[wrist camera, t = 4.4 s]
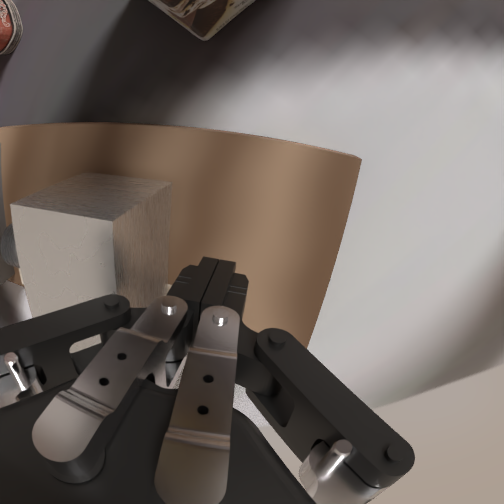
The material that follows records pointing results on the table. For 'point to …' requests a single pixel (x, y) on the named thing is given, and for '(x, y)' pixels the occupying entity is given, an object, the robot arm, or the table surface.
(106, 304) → the robot arm
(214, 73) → the table surface
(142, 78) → the table surface
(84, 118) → the table surface
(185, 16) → the coffee box
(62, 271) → the white block
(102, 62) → the table surface
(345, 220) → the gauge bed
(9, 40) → the lighter
